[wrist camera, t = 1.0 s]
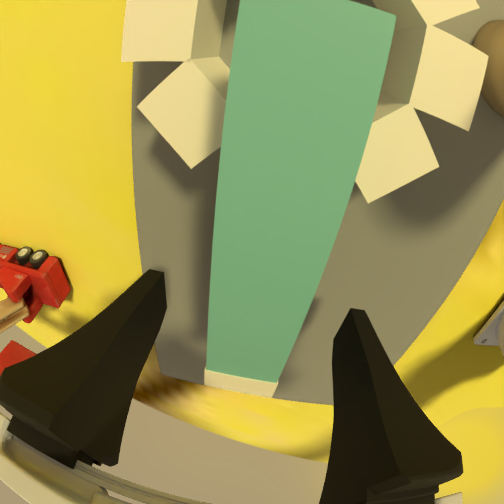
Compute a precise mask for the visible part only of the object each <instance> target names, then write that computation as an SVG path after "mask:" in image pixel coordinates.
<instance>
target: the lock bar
mask: <svg viewBox="0 0 504 504" xmlns="http://www.w3.org/2000/svg"><path fill="white" fill-rule="evenodd" d="M396 17H397V16H396V15H393V14H391V13H388V12H385V11H382V10H379V9H376V8H373V7H370V6H367V5H363V4H360V3H357V2H353V1H349V0H240V4H239V11H238V17H237V24H236V30H235V37H234V44H233V51H232V59H231V66H230V74H229V81H228V89H227V98H226V106H225V115H224V124H223V133H222V142H221V152H220V162H219V172H218V183H217V195H216V206H215V219H214V232H213V246H212V260H211V276H210V293H209V312H208V334H207V361H206V367H205V371H204V385H206V386H211V387H215V388H220V389H225V390H230V391H235V392H240V393H246V394H251V395H257V396H263V397H269V398H272V396H273V394H274V392H275V390H276V387H277V385H278V379H279V377H280V375H281V373H282V370H283V368H284V366H285V364H286V361H287V359H288V357H289V355H290V352H291V350H292V348H293V346H294V343H295V341H296V339H297V336H298V334H299V332H300V329H301V327H302V324H303V322H304V320H305V317H306V315H307V312H308V310H309V307H310V305H311V302H312V300H313V297H314V295H315V292H316V290H317V287H318V285H319V282H320V280H321V277H322V274H323V272H324V269H325V266H326V264H327V261H328V258H329V256H330V253H331V250H332V247H333V245H334V242H335V239H336V236H337V233H338V231H339V228H340V225H341V222H342V219H343V216H344V213H345V210H346V207H347V204H348V201H349V198H350V195H351V192H352V189H353V186H354V183H355V180H356V176H357V173H358V170H359V167H360V163H361V160H362V157H363V153H364V150H365V147H366V143H367V140H368V136H369V133H370V129H371V125H372V122H373V118H374V114H375V110H376V107H377V103H378V99H379V95H380V91H381V87H382V83H383V79H384V74H385V70H386V66H387V61H388V57H389V52H390V47H391V43H392V38H393V33H394V28H395V22H396Z"/></svg>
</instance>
